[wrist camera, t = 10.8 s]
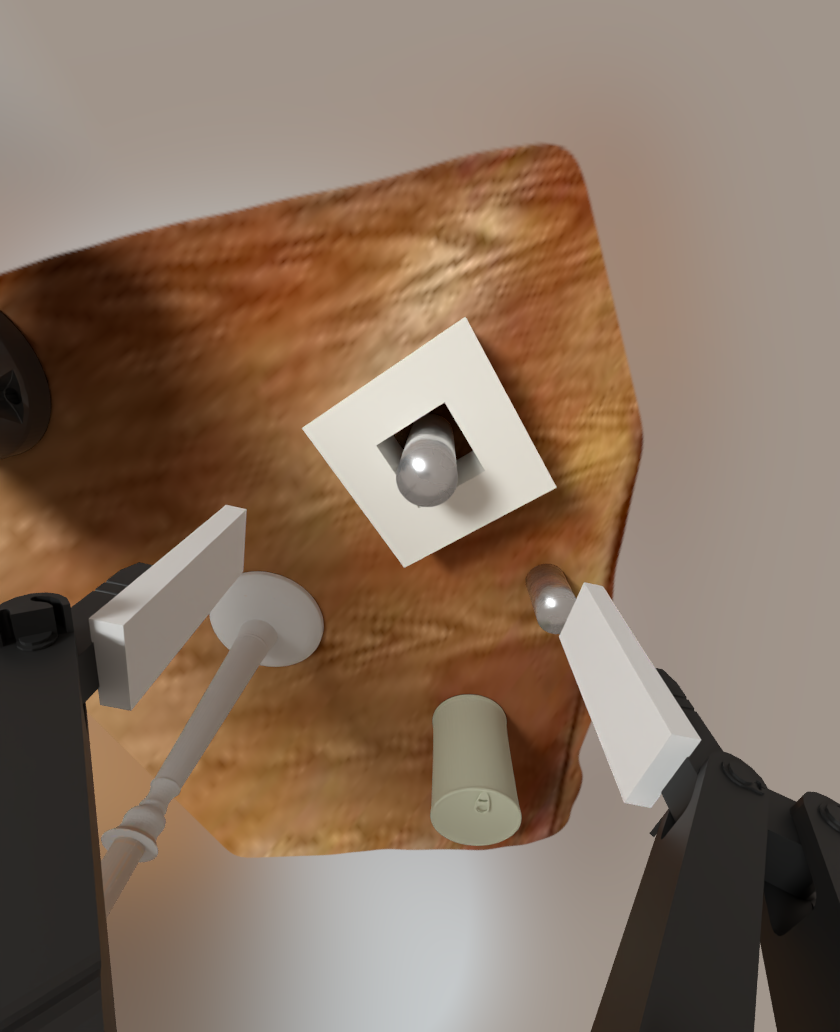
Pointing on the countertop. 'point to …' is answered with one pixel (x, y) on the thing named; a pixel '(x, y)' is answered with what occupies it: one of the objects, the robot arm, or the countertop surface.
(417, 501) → the long pin
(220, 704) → the candlestick
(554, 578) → the short pin
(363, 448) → the hole block
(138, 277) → the countertop surface
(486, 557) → the countertop surface
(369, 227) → the countertop surface
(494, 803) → the can
